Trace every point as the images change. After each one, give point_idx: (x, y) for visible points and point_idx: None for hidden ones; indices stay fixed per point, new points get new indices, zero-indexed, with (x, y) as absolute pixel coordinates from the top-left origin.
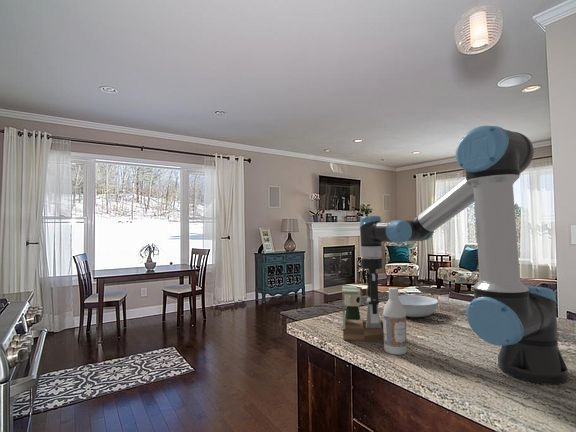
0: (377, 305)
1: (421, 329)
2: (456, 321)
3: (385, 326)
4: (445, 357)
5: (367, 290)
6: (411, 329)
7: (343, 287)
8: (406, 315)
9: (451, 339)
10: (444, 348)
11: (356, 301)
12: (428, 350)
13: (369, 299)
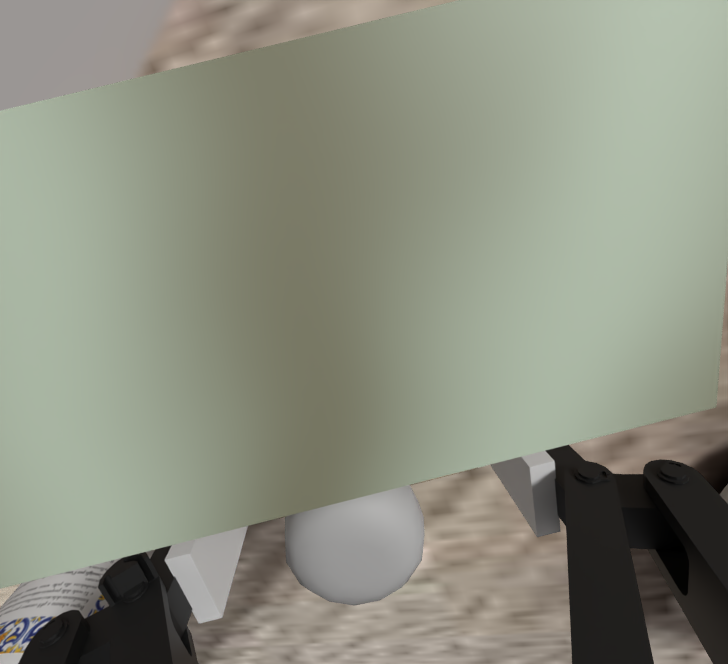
0: (198, 605)
1: (522, 553)
2: (666, 651)
3: (19, 586)
4: (195, 644)
5: (712, 492)
6: (513, 518)
7: (424, 68)
8: (722, 491)
9: (413, 648)
10: (294, 636)
11: None
12: (244, 596)
13: (315, 543)
